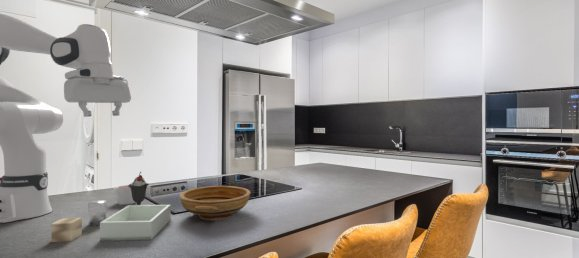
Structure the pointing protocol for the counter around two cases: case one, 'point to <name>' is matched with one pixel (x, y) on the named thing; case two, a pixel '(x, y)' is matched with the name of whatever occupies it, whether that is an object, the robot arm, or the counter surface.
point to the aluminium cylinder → (97, 212)
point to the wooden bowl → (214, 201)
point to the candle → (124, 195)
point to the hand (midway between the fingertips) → (102, 116)
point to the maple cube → (66, 229)
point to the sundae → (138, 189)
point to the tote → (135, 222)
